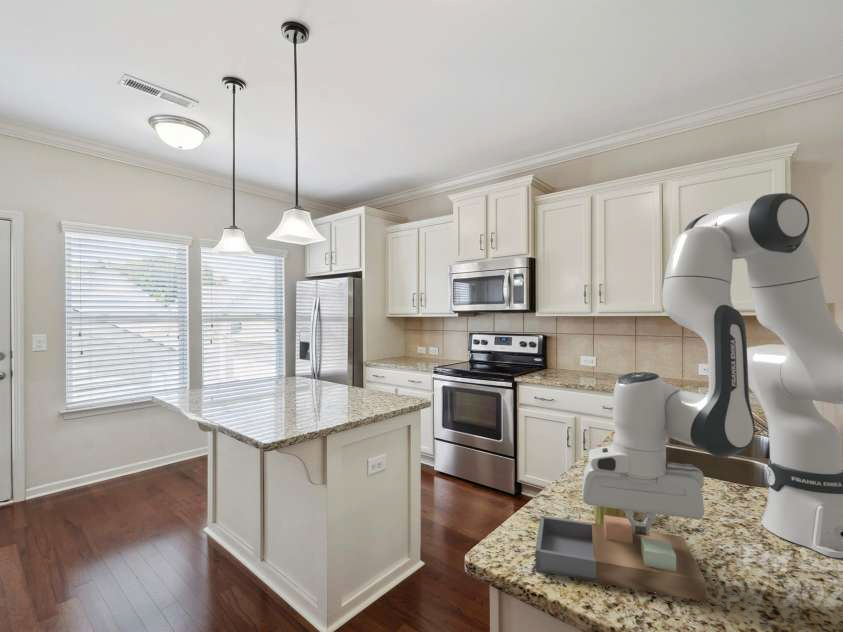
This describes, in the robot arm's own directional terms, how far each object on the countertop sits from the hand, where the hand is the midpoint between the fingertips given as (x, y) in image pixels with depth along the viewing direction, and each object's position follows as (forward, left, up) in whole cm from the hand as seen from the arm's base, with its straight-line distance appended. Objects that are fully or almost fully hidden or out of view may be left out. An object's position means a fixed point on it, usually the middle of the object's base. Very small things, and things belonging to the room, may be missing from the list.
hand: (639, 533), depth 77 cm
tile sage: (-2, +7, -1) cm, 7 cm away
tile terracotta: (+4, 0, -1) cm, 4 cm away
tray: (+13, +3, -5) cm, 14 cm away
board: (0, +3, -5) cm, 6 cm away
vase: (+4, -12, -5) cm, 13 cm away
